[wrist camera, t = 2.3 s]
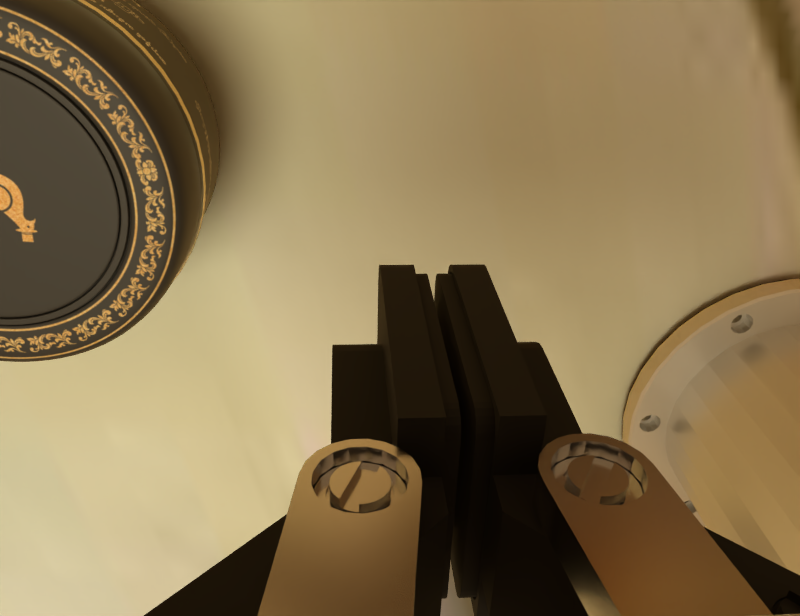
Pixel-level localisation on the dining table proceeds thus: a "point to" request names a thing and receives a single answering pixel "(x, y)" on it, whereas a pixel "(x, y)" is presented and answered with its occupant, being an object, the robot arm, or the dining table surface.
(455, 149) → the dining table surface
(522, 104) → the dining table surface
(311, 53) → the dining table surface
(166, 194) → the jar
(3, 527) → the dining table surface
